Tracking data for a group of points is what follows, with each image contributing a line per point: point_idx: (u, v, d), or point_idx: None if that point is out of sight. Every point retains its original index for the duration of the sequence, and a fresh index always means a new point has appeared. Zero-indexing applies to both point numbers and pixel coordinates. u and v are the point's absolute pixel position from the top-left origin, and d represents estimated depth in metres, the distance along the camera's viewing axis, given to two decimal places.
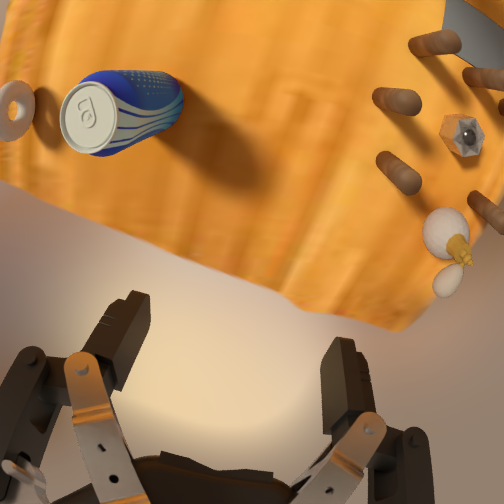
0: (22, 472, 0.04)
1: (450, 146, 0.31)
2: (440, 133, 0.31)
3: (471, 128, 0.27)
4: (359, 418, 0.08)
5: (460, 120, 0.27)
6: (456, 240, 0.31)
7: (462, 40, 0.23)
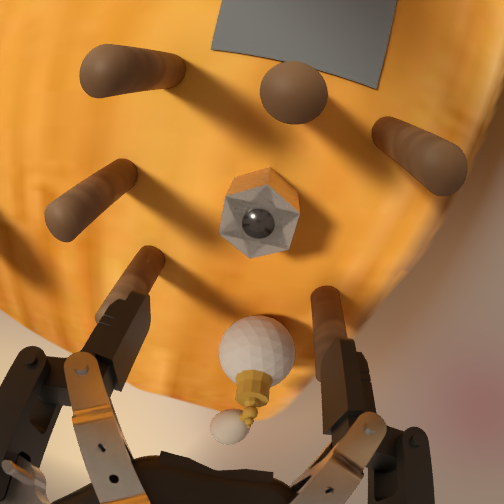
0: (22, 472, 0.04)
1: None
2: None
3: (261, 206, 0.19)
4: (359, 418, 0.08)
5: (229, 196, 0.19)
6: (243, 380, 0.24)
7: (267, 21, 0.16)
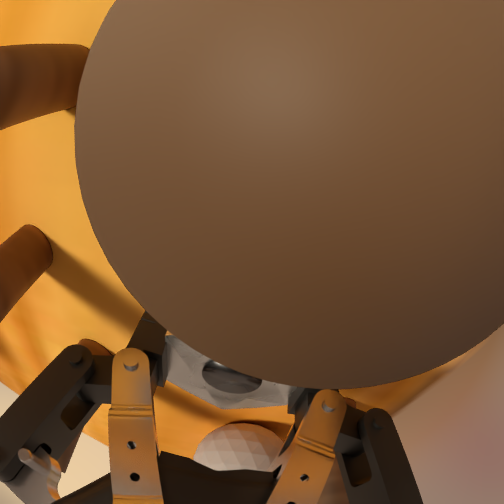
0: (38, 463, 0.05)
1: None
2: None
3: None
4: (317, 394, 0.09)
5: (173, 336, 0.09)
6: None
7: None
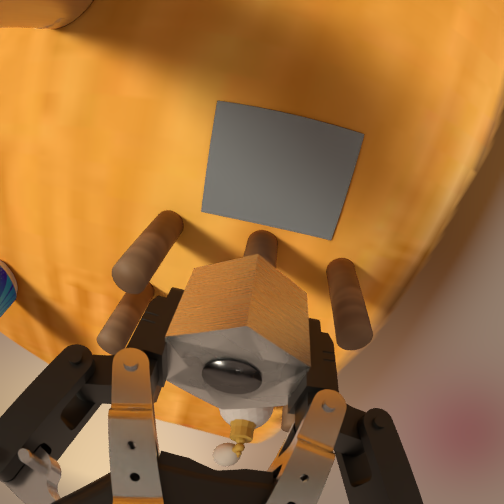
0: (38, 463, 0.05)
1: None
2: None
3: (236, 356, 0.09)
4: (317, 395, 0.09)
5: (173, 337, 0.09)
6: (235, 426, 0.33)
7: (244, 190, 0.25)
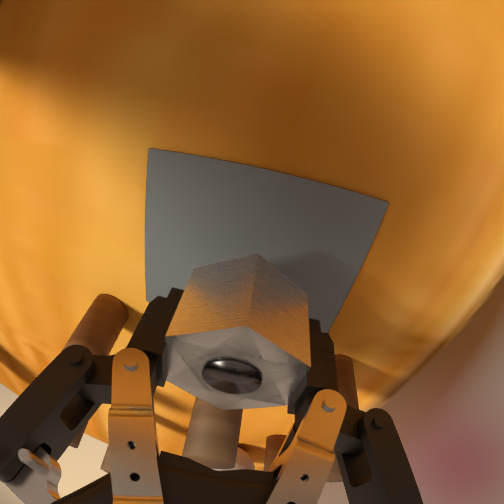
0: (38, 463, 0.05)
1: None
2: None
3: (236, 356, 0.09)
4: (317, 395, 0.09)
5: (173, 337, 0.09)
6: None
7: None
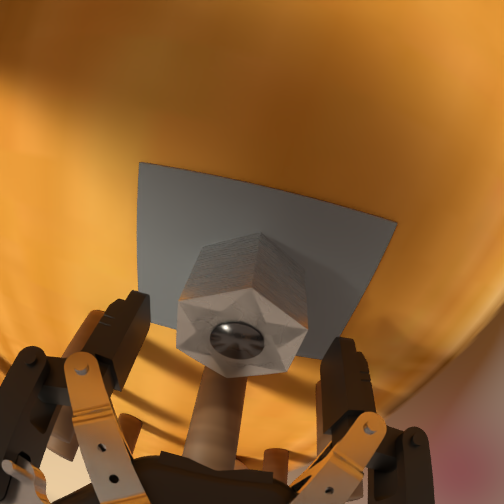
0: (22, 472, 0.04)
1: None
2: None
3: (241, 318, 0.11)
4: (359, 418, 0.08)
5: (185, 302, 0.11)
6: None
7: None
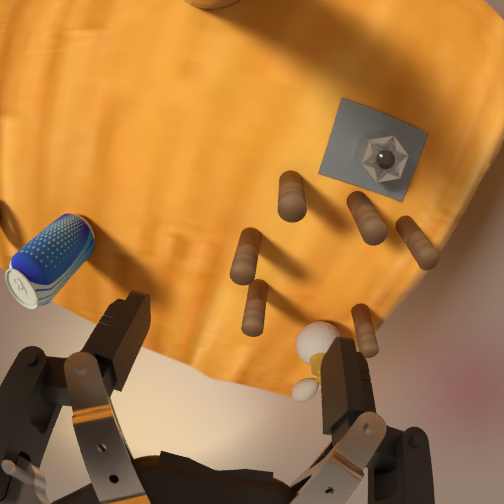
0: (22, 472, 0.04)
1: None
2: (354, 155, 0.33)
3: (389, 148, 0.28)
4: (359, 418, 0.08)
5: (372, 140, 0.28)
6: (316, 359, 0.41)
7: (351, 161, 0.34)
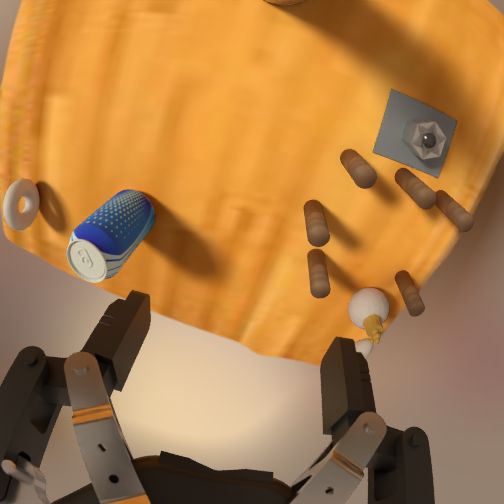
0: (22, 472, 0.04)
1: (412, 149, 0.35)
2: (402, 137, 0.36)
3: (431, 131, 0.32)
4: (359, 418, 0.08)
5: (419, 124, 0.31)
6: (370, 320, 0.45)
7: (399, 142, 0.37)
